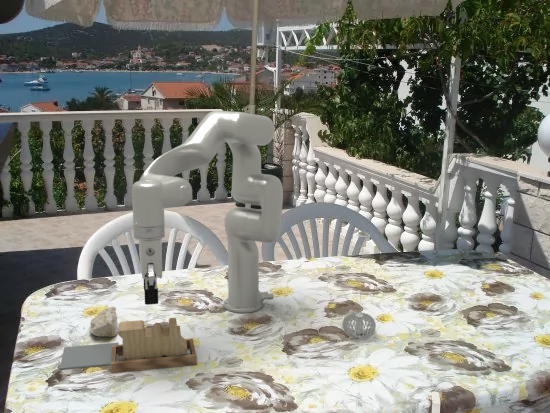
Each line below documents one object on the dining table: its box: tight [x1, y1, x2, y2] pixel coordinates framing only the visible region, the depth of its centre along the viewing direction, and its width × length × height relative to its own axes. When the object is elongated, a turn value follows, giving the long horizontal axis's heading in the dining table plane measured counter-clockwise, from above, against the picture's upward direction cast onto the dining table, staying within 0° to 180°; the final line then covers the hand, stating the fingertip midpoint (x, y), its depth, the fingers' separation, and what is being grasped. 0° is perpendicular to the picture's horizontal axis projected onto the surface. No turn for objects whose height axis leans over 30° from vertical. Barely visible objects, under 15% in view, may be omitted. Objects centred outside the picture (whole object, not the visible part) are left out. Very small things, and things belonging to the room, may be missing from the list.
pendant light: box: [342, 231, 377, 340], centre depth 172 cm, size 9×9×30 cm
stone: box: [89, 306, 119, 338], centre depth 175 cm, size 8×12×10 cm, turn 12°
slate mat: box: [59, 342, 120, 371], centre depth 161 cm, size 14×12×1 cm
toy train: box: [117, 317, 188, 361], centre depth 159 cm, size 6×17×10 cm, turn 101°
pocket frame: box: [110, 337, 198, 374], centre depth 160 cm, size 21×10×2 cm, turn 103°
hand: (150, 296), depth 156 cm, fingers open, 9 cm apart
